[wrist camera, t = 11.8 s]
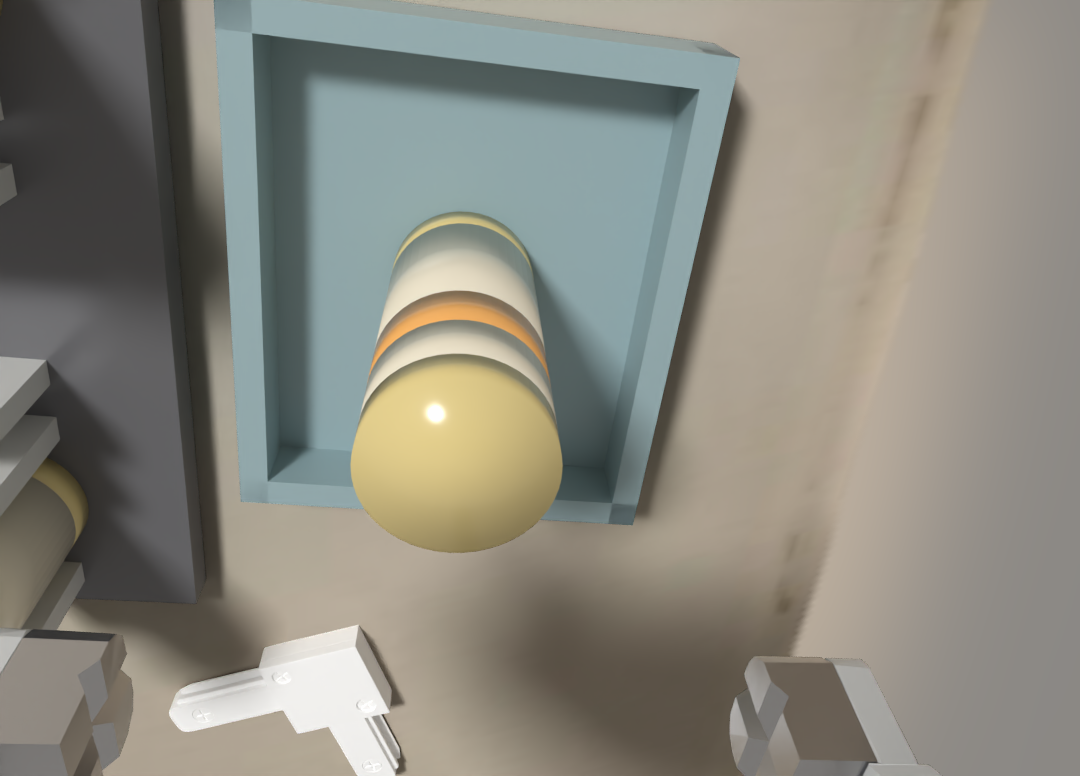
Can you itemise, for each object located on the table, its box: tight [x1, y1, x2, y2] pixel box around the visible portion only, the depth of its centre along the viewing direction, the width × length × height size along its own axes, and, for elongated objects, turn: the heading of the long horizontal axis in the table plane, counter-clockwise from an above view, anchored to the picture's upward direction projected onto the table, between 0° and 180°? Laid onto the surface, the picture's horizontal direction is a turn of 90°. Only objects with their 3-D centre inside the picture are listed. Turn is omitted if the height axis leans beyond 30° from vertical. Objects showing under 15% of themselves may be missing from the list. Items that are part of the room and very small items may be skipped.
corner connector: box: [169, 625, 400, 776], centre depth 34 cm, size 8×8×2 cm
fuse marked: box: [350, 211, 563, 553], centre depth 20 cm, size 4×4×10 cm
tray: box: [214, 0, 740, 525], centre depth 24 cm, size 14×12×2 cm
